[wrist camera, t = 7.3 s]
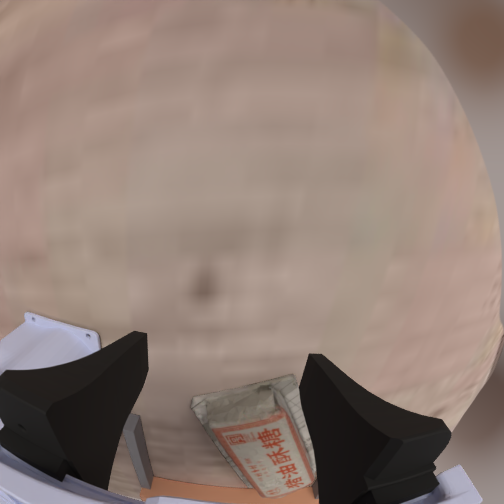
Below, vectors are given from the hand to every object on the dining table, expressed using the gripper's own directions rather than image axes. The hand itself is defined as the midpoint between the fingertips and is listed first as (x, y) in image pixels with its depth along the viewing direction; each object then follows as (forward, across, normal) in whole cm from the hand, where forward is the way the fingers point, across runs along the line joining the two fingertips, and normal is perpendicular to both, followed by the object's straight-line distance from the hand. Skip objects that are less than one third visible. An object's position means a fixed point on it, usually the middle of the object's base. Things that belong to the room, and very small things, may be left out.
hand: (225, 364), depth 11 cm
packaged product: (+10, -6, +17) cm, 21 cm away
